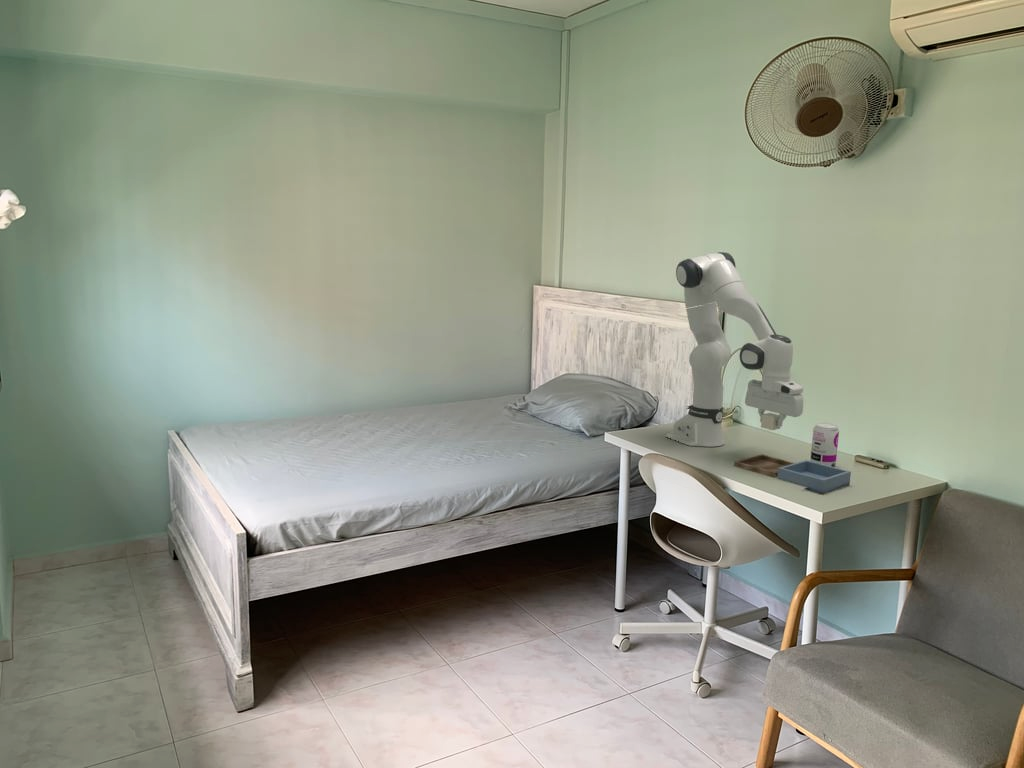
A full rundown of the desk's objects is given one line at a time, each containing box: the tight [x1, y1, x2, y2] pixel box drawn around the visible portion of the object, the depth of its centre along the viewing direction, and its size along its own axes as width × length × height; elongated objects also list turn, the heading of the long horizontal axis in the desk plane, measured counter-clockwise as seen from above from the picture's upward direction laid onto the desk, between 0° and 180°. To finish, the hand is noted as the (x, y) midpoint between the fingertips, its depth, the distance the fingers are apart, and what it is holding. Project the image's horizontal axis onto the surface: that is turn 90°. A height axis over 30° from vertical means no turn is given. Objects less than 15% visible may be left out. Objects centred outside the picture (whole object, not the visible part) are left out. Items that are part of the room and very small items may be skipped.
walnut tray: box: [733, 454, 795, 479], centre depth 270 cm, size 16×16×2 cm
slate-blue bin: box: [776, 459, 852, 495], centre depth 257 cm, size 16×16×4 cm
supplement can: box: [809, 422, 840, 468], centre depth 273 cm, size 8×8×15 cm
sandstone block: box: [760, 412, 781, 431], centre depth 267 cm, size 4×4×4 cm
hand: (770, 424), depth 268 cm, fingers closed on sandstone block, 4 cm apart
